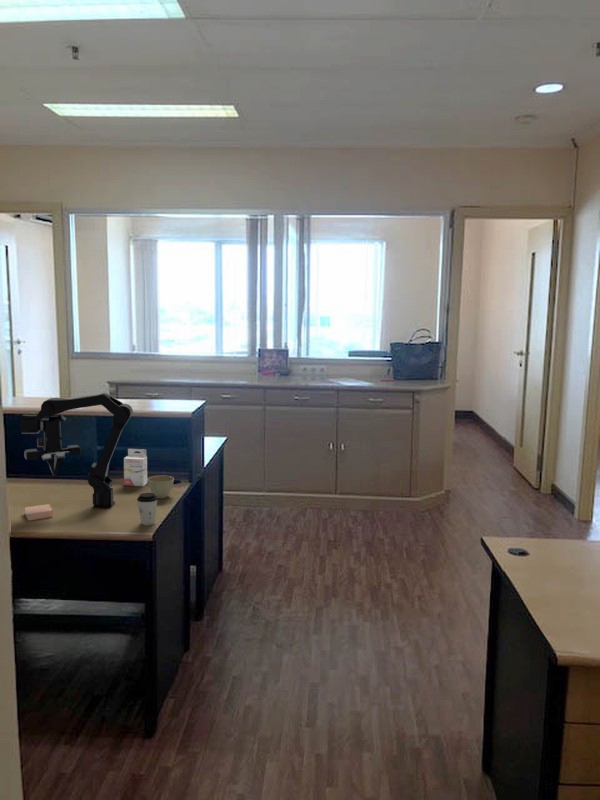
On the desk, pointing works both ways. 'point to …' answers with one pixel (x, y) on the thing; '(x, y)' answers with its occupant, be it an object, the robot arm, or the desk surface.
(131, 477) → the ink cartridge box
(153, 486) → the beige bowl
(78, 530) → the desk surface
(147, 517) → the coffee cup
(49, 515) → the tile
